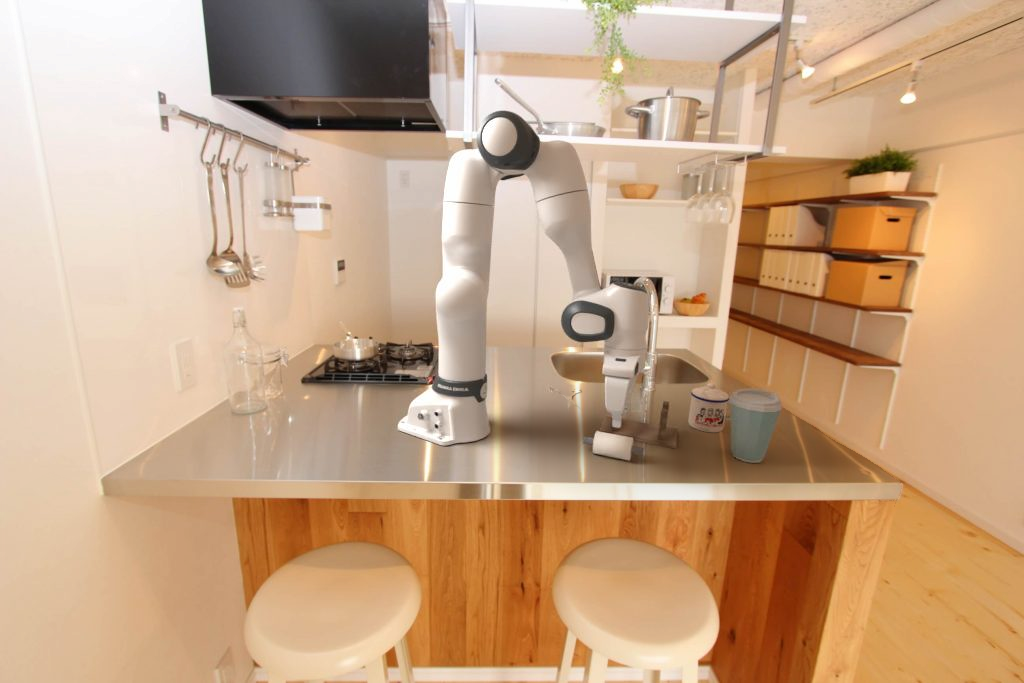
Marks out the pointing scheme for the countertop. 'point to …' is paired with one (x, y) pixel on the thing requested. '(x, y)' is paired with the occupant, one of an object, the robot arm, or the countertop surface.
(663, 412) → the roll holder
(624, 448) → the paper roll
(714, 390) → the teacup with lid
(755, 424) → the disposable coffee cup
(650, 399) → the countertop surface
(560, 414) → the countertop surface
